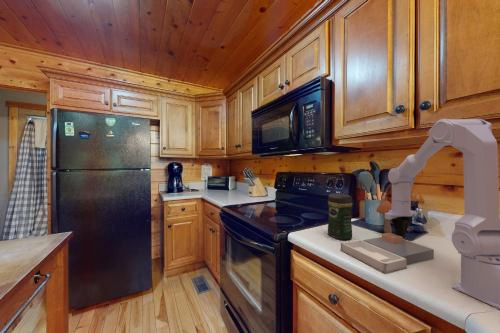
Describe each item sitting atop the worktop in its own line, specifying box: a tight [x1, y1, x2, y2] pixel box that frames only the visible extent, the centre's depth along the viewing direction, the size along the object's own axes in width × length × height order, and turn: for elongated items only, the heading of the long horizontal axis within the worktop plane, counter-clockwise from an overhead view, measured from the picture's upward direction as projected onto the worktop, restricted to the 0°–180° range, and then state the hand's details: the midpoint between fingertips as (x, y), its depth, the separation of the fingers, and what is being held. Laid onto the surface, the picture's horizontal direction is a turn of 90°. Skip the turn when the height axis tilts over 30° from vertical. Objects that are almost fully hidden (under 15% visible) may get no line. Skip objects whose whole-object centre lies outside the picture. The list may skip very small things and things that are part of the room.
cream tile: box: [367, 252, 390, 262], centre depth 62 cm, size 4×4×2 cm
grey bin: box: [340, 239, 408, 275], centre depth 66 cm, size 16×9×3 cm, turn 20°
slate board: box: [362, 236, 435, 266], centre depth 70 cm, size 14×15×3 cm
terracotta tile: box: [381, 232, 403, 244], centre depth 74 cm, size 4×4×2 cm
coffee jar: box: [327, 192, 353, 241], centre depth 86 cm, size 10×8×19 cm
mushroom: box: [376, 200, 393, 234], centre depth 90 cm, size 8×8×15 cm
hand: (400, 236), depth 75 cm, fingers closed
